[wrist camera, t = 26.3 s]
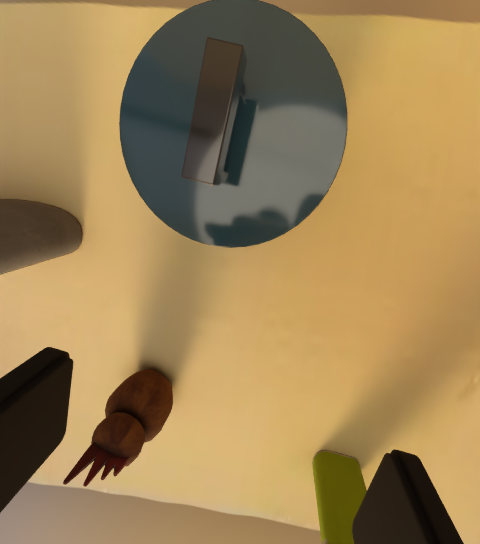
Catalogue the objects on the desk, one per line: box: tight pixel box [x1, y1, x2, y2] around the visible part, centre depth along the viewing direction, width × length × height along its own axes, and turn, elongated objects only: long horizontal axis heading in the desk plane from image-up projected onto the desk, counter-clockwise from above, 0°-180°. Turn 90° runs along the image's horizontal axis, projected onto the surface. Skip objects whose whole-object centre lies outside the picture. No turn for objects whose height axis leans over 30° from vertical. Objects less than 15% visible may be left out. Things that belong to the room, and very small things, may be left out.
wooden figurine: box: [63, 369, 173, 487], centre depth 33 cm, size 7×6×15 cm
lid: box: [119, 0, 347, 248], centre depth 17 cm, size 14×14×6 cm
